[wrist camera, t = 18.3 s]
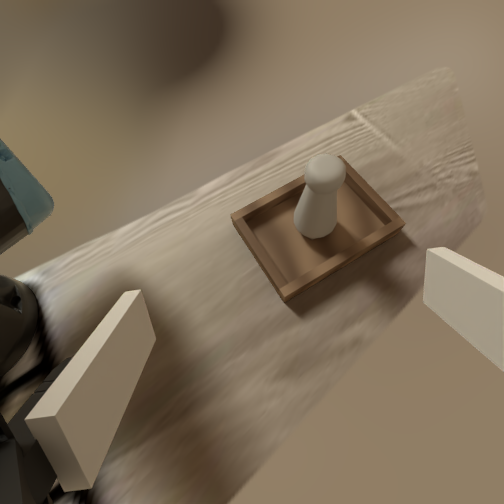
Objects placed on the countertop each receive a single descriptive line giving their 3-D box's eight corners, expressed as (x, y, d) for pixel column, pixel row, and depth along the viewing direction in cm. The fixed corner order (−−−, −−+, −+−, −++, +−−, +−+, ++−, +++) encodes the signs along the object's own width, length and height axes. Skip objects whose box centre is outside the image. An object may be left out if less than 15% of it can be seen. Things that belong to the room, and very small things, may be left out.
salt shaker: (338, 215, 42) (361, 150, 30) (328, 249, 40) (349, 194, 28) (298, 205, 43) (306, 139, 31) (287, 238, 41) (291, 180, 29)
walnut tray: (284, 303, 39) (284, 297, 36) (233, 224, 44) (230, 214, 41) (397, 233, 41) (406, 223, 39) (336, 168, 47) (340, 154, 44)
